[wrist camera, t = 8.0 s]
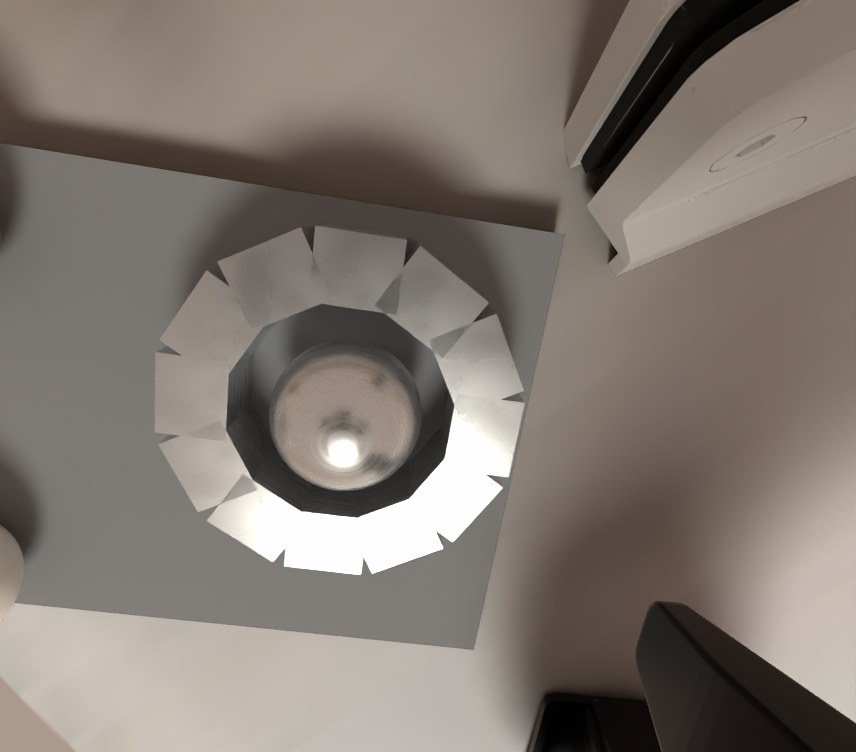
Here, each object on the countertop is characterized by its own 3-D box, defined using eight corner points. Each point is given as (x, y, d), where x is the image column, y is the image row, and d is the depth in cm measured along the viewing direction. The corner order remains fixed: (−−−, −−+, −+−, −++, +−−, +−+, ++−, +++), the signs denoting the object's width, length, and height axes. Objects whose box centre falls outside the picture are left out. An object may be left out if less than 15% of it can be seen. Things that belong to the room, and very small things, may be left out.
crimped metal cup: (475, 542, 19) (484, 588, 17) (186, 508, 19) (153, 551, 16) (534, 256, 17) (555, 263, 14) (195, 202, 16) (156, 200, 13)
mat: (470, 627, 22) (473, 649, 21) (-63, 571, 20) (-91, 592, 19) (554, 233, 18) (564, 234, 16) (-119, 124, 16) (-160, 117, 15)
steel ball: (406, 456, 19) (415, 527, 14) (277, 443, 18) (248, 513, 14) (425, 334, 17) (441, 373, 13) (288, 316, 17) (259, 350, 13)
